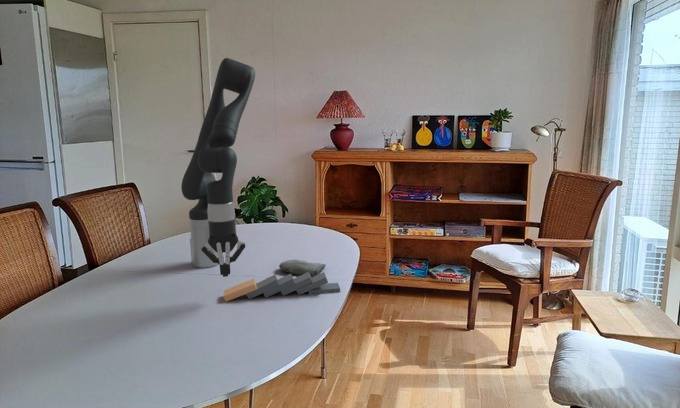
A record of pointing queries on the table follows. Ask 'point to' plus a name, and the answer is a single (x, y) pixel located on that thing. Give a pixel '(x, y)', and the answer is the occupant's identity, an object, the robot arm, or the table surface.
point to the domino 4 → (298, 283)
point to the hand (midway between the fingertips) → (225, 275)
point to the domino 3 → (281, 285)
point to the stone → (301, 267)
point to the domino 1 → (239, 290)
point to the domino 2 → (264, 286)
